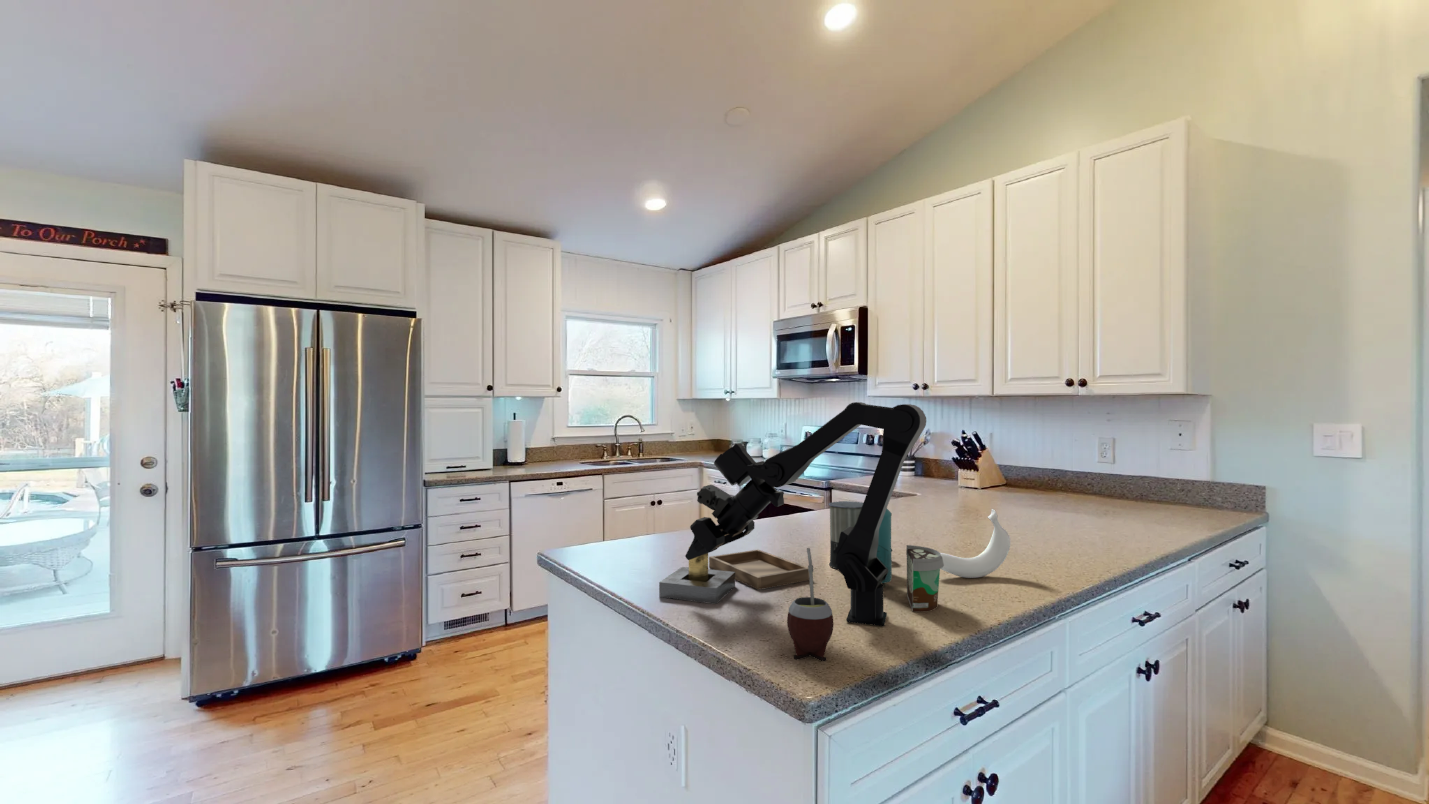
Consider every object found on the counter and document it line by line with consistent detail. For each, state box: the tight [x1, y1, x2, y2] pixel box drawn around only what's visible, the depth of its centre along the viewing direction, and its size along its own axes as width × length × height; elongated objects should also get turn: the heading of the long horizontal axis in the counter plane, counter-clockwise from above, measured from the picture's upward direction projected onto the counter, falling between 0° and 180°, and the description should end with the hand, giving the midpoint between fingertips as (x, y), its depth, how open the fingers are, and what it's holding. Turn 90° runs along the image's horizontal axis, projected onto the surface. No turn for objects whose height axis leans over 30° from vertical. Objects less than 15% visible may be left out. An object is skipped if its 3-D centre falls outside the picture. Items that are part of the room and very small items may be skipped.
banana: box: [940, 508, 1011, 579], centre depth 136 cm, size 5×19×15 cm, turn 100°
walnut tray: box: [708, 549, 810, 591], centre depth 138 cm, size 20×14×2 cm
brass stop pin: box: [688, 553, 709, 582], centre depth 125 cm, size 4×4×9 cm
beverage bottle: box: [876, 508, 893, 584], centre depth 129 cm, size 6×7×20 cm
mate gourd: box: [786, 547, 834, 663], centre depth 94 cm, size 8×8×15 cm
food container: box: [905, 544, 944, 613], centre depth 117 cm, size 12×6×10 cm, turn 168°
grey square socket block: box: [658, 566, 736, 605], centre depth 125 cm, size 12×12×3 cm
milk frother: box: [828, 500, 893, 570], centre depth 147 cm, size 14×16×15 cm
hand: (698, 553), depth 125 cm, fingers open, 9 cm apart
